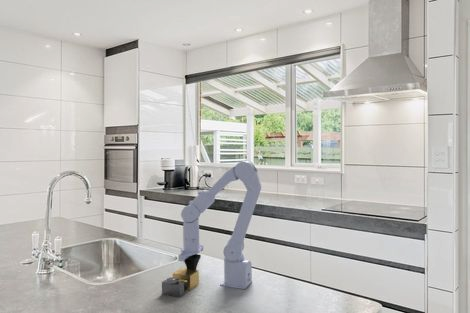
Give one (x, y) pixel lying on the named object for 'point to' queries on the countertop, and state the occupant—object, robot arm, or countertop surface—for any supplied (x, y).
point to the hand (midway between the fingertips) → (191, 275)
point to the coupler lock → (188, 277)
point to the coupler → (173, 287)
